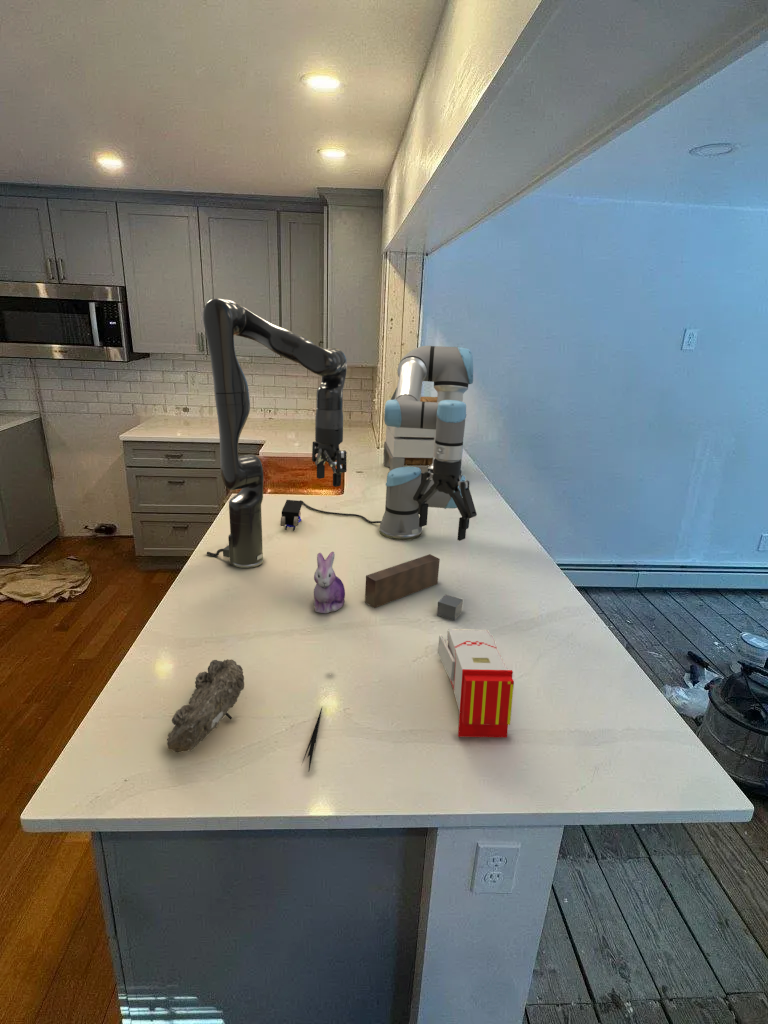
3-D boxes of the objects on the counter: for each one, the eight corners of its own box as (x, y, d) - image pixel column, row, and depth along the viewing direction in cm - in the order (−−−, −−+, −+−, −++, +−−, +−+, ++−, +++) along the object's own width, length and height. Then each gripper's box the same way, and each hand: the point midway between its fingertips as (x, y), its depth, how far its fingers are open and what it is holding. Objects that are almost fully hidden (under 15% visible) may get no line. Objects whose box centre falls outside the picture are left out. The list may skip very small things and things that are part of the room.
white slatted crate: (382, 463, 289) (386, 382, 275) (445, 464, 293) (451, 384, 279) (390, 482, 257) (394, 392, 243) (460, 483, 261) (468, 394, 247)
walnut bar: (374, 608, 150) (375, 581, 147) (364, 602, 153) (365, 575, 150) (437, 583, 165) (439, 558, 162) (428, 578, 168) (429, 554, 165)
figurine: (319, 618, 143) (319, 564, 138) (305, 600, 152) (304, 548, 147) (353, 610, 148) (354, 558, 143) (337, 593, 156) (338, 543, 151)
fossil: (192, 660, 117) (244, 628, 112) (224, 691, 120) (276, 661, 115) (142, 746, 98) (202, 712, 93) (182, 779, 101) (242, 748, 96)
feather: (331, 679, 122) (336, 673, 122) (307, 777, 96) (313, 769, 95) (324, 675, 122) (329, 669, 121) (298, 772, 95) (304, 764, 95)
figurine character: (299, 536, 197) (303, 517, 210) (298, 517, 193) (303, 498, 207) (279, 536, 197) (285, 516, 210) (278, 516, 193) (285, 497, 207)
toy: (488, 613, 130) (523, 677, 101) (484, 667, 133) (517, 744, 104) (435, 612, 130) (455, 676, 101) (432, 666, 133) (451, 743, 103)
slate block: (436, 615, 148) (437, 601, 146) (444, 607, 152) (445, 594, 151) (454, 620, 146) (455, 607, 144) (461, 612, 150) (463, 599, 148)
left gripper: (304, 421, 157) (304, 477, 162) (331, 431, 146) (330, 491, 152) (327, 419, 161) (326, 474, 167) (355, 428, 151) (353, 486, 156)
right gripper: (403, 452, 158) (399, 523, 165) (478, 471, 142) (470, 549, 149) (420, 448, 163) (416, 517, 170) (494, 466, 147) (486, 541, 154)
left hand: (328, 482), depth 159 cm, fingers open, 8 cm apart
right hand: (441, 532), depth 160 cm, fingers open, 13 cm apart
